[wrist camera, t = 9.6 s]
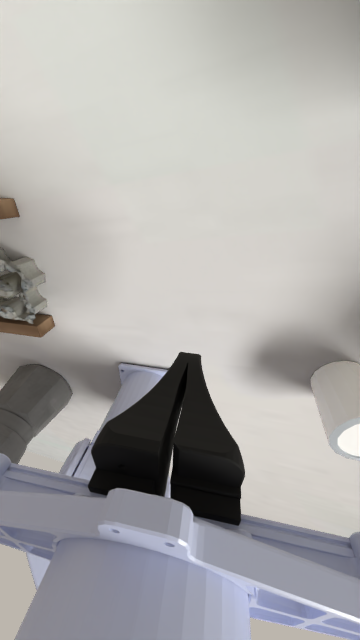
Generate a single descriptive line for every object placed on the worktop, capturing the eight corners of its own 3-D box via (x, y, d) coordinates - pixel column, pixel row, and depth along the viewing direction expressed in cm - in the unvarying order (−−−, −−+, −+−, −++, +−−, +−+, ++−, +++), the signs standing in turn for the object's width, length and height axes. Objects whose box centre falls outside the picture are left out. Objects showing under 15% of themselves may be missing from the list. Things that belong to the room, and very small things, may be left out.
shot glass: (312, 405, 27) (337, 466, 21) (297, 366, 24) (320, 423, 18) (379, 393, 24) (429, 459, 18) (370, 348, 22) (425, 408, 16)
